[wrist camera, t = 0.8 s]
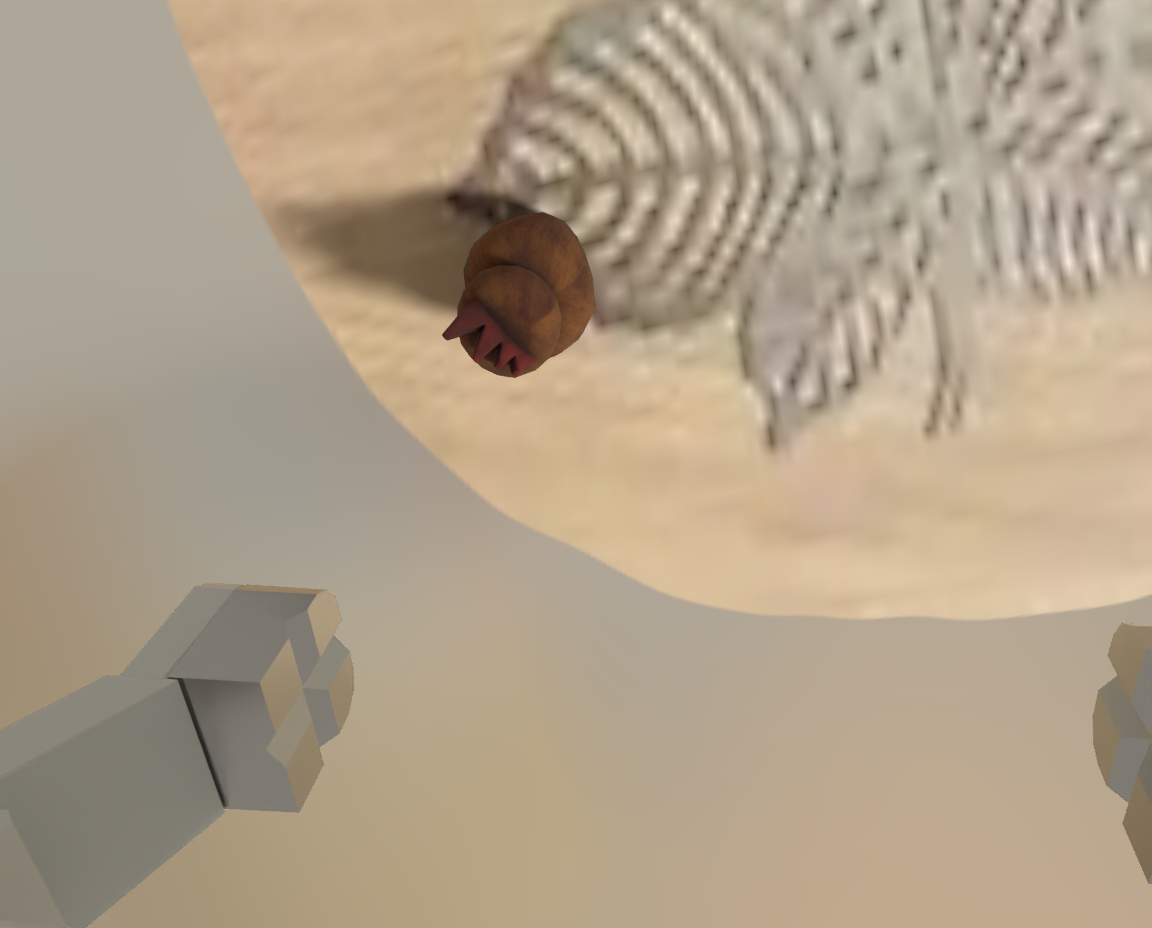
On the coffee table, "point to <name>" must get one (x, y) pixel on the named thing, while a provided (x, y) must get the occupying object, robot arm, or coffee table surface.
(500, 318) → the wooden figurine
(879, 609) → the coffee table surface
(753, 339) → the coffee table surface
